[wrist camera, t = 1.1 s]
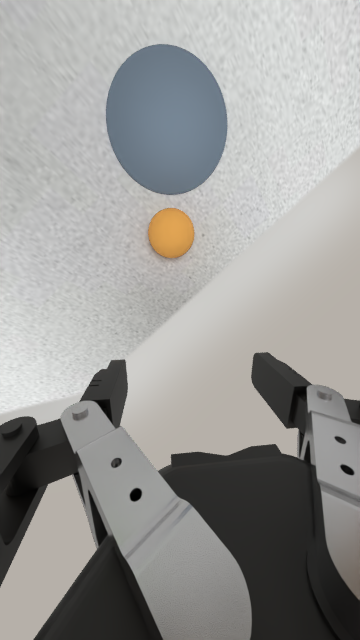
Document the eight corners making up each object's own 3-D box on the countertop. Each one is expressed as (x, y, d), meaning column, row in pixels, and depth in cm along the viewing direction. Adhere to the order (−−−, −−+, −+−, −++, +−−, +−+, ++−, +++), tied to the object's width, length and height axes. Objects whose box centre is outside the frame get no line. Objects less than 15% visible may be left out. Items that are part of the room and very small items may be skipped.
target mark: (112, 192, 25) (112, 192, 24) (99, 39, 21) (99, 37, 21) (223, 196, 26) (223, 195, 26) (230, 53, 22) (231, 51, 22)
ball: (150, 258, 27) (148, 257, 22) (148, 213, 26) (145, 201, 20) (190, 258, 28) (197, 257, 22) (190, 214, 26) (198, 202, 21)
